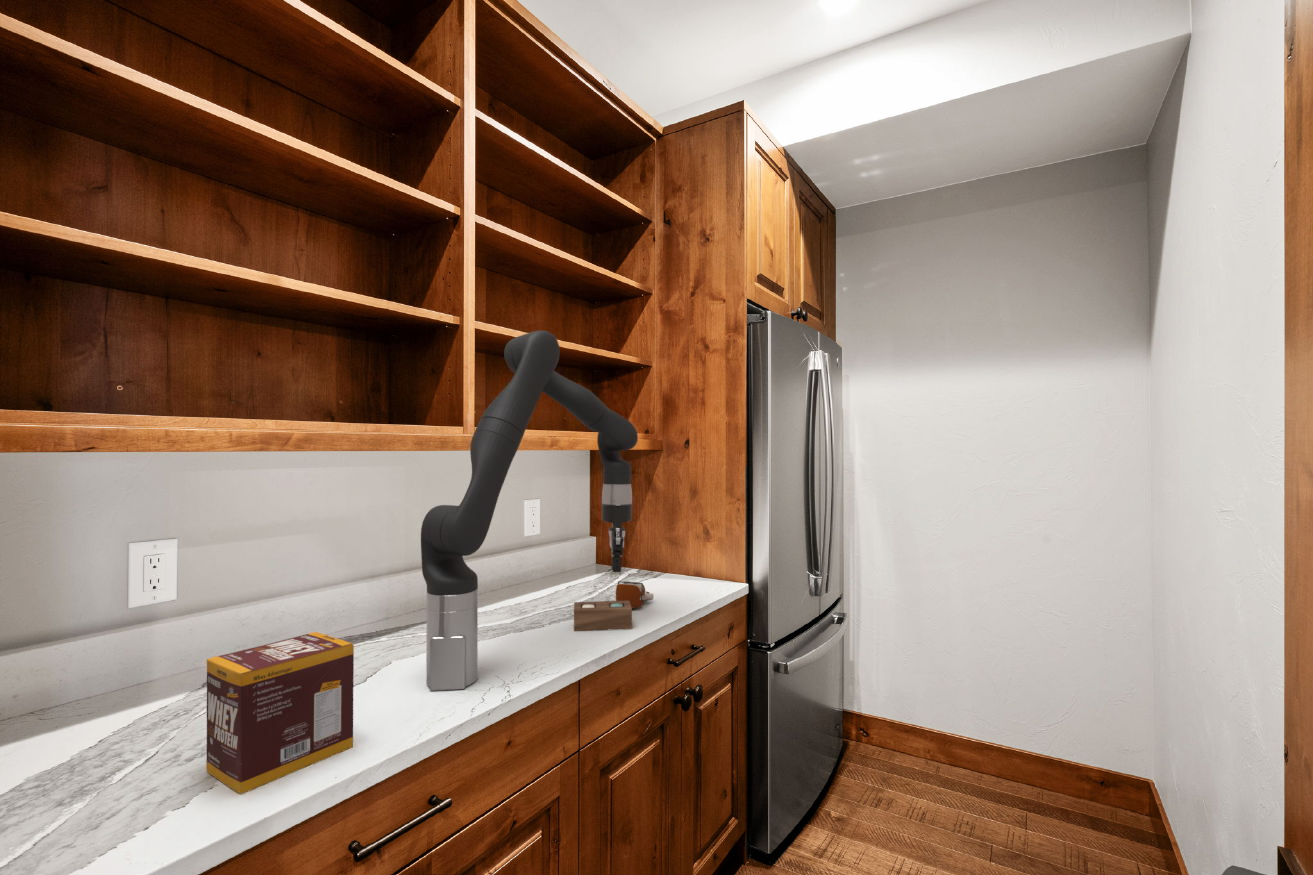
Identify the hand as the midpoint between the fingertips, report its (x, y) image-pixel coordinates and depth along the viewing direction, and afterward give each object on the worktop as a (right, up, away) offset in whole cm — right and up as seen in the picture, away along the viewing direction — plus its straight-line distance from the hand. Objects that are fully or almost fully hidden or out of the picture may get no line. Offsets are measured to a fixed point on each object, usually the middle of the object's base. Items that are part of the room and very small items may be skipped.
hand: (616, 571), depth 153 cm
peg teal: (0, -13, 0) cm, 13 cm away
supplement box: (-43, -13, -66) cm, 80 cm away
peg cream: (-7, -13, -1) cm, 15 cm away
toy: (+4, -14, +21) cm, 25 cm away
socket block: (-3, -13, 0) cm, 14 cm away
